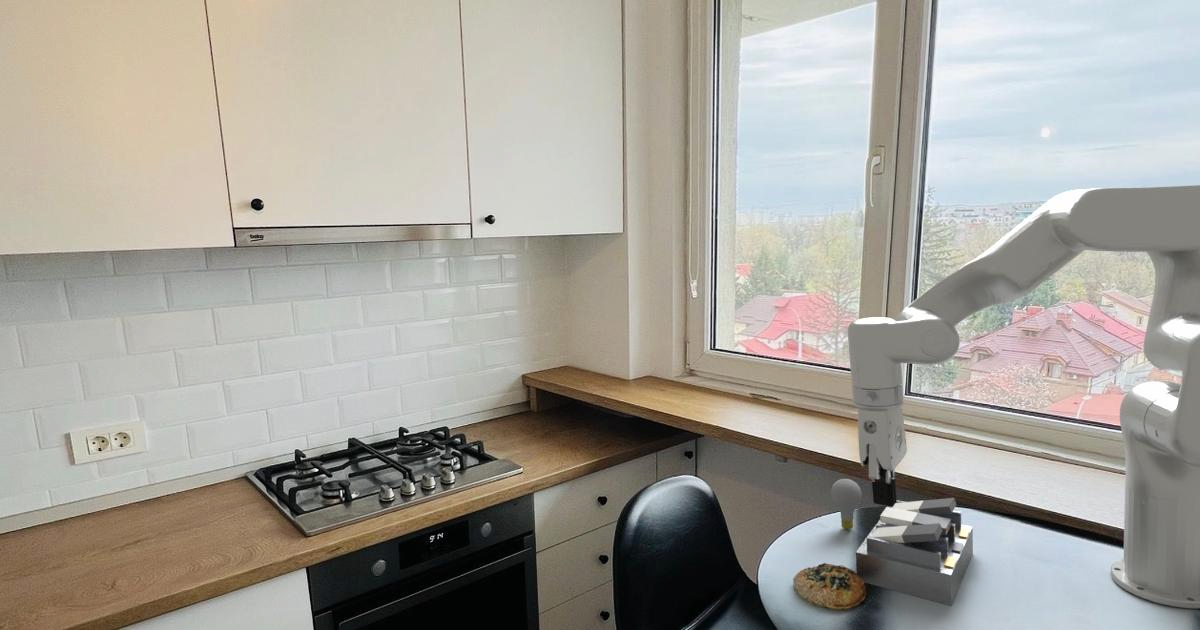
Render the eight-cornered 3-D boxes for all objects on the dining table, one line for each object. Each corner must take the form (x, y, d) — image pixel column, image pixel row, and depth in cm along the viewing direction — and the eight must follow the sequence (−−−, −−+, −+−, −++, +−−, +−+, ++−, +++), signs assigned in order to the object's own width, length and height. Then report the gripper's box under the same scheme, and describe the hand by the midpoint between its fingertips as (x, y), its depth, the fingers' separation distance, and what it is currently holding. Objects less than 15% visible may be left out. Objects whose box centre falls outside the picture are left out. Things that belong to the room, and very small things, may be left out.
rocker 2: (950, 526, 107) (950, 518, 107) (945, 536, 104) (945, 528, 104) (887, 514, 113) (886, 506, 113) (880, 522, 110) (880, 515, 110)
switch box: (972, 554, 112) (972, 512, 111) (951, 605, 98) (950, 558, 97) (887, 535, 121) (886, 496, 120) (856, 580, 107) (855, 537, 106)
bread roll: (862, 575, 108) (860, 549, 107) (870, 623, 98) (868, 595, 97) (793, 573, 111) (790, 548, 110) (794, 619, 101) (791, 592, 100)
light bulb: (865, 536, 121) (863, 485, 120) (834, 535, 122) (832, 485, 121) (859, 523, 126) (858, 474, 125) (830, 522, 127) (828, 474, 126)
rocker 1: (956, 505, 111) (954, 497, 111) (952, 514, 108) (949, 506, 108) (897, 510, 117) (895, 503, 117) (891, 518, 114) (889, 511, 114)
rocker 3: (942, 531, 102) (939, 523, 102) (937, 541, 99) (934, 533, 99) (880, 535, 109) (877, 527, 109) (873, 545, 106) (870, 537, 106)
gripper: (889, 409, 96) (897, 526, 98) (914, 384, 107) (921, 489, 109) (838, 405, 100) (846, 517, 102) (867, 382, 112) (874, 483, 114)
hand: (885, 502), depth 106 cm, fingers closed
